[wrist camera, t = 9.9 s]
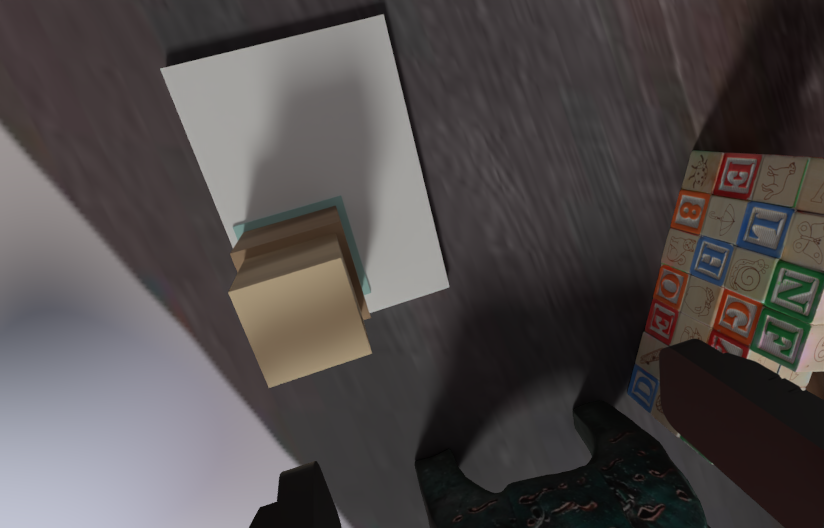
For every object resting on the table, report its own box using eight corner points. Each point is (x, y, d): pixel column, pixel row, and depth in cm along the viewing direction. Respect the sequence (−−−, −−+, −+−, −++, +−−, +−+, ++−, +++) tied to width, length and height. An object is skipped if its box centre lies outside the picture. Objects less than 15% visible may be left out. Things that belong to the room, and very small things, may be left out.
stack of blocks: (683, 391, 42) (822, 492, 31) (624, 393, 41) (746, 499, 29) (755, 155, 36) (960, 170, 25) (689, 147, 35) (875, 159, 24)
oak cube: (244, 259, 24) (228, 292, 20) (335, 232, 25) (340, 257, 20) (276, 340, 26) (269, 387, 21) (361, 312, 27) (372, 353, 22)
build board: (165, 70, 26) (159, 68, 25) (381, 17, 28) (384, 13, 27) (273, 338, 32) (271, 345, 31) (445, 282, 34) (450, 288, 33)
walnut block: (243, 232, 29) (230, 253, 24) (335, 205, 29) (340, 221, 25) (276, 315, 31) (269, 350, 26) (362, 288, 31) (370, 317, 27)
